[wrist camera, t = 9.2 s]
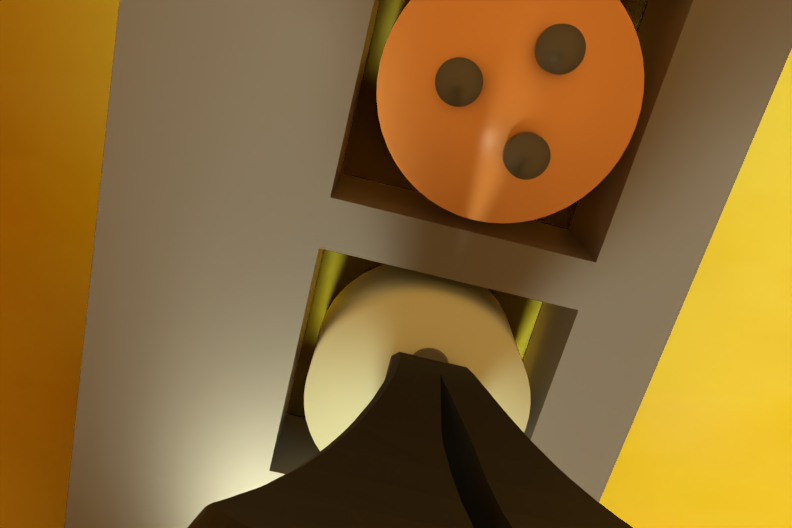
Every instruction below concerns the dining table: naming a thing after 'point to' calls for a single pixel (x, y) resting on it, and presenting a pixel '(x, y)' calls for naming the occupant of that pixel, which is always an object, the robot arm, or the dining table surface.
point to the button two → (408, 344)
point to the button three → (509, 101)
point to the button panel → (365, 241)
